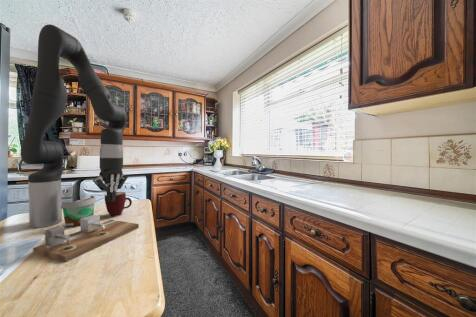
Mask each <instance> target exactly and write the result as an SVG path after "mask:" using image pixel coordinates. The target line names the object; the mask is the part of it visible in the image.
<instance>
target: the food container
mask: <svg viewBox="0 0 476 317" xmlns="http://www.w3.org/2000/svg"><path fill="white" fill-rule="evenodd" d="M96 203H97V198H96V197H95V196H94V195H90V197H87V198H84V199H82V198H81V199H77V200H74V201H70V202H65V201H64V202H63V201H62V204H61V208H62V214H63V218H64V225H65V226H64V228H78V227H80V219H81V218H84V217H88V216H91V215H94V212H95V210H94V209H95V204H96Z"/></svg>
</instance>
